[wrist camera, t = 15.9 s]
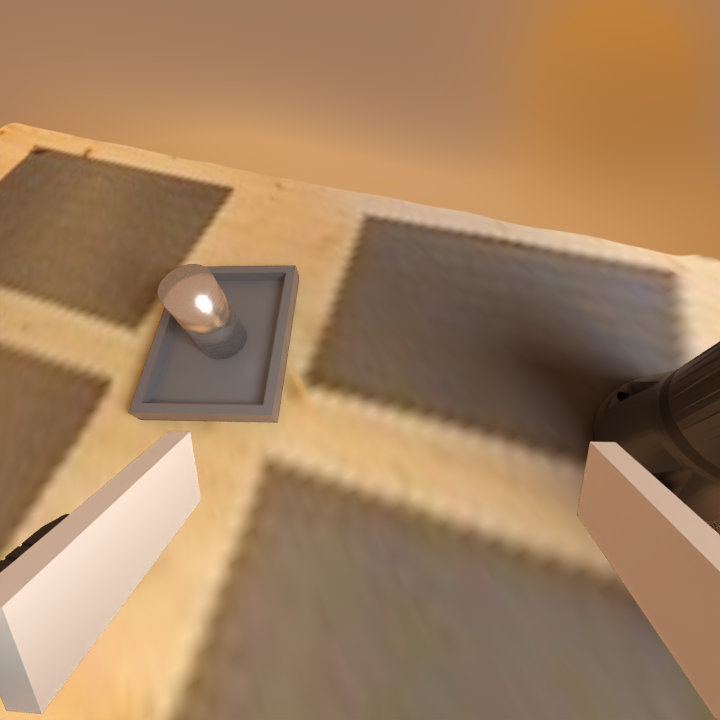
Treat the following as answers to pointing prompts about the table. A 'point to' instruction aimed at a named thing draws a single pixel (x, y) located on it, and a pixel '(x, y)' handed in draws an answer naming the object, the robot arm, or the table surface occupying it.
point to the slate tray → (225, 376)
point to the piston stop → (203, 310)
